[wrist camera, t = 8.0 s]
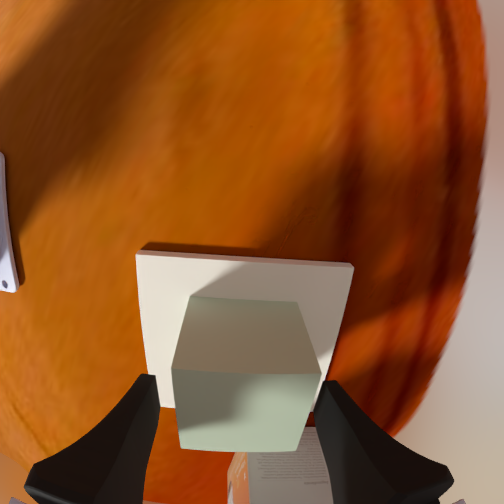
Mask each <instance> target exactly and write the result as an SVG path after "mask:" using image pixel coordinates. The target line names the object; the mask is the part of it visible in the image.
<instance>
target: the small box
mask: <svg viewBox="0 0 504 504" xmlns="http://www.w3.org/2000/svg"><path fill="white" fill-rule="evenodd" d="M228 504H333V497H332V490H331V483H330V477H329V473H328V468H327V465H326V462H325V458H324V455H323V452H322V448H321V445H320V442H319V438H318V435H317V431H316V427H304V430H303V433H302V435H301V438H300V441H299V444H298V446H297V449H296V451H285V452H235V455H234V457H233V460H232V462H231V464H230V467H229V469H228Z"/></svg>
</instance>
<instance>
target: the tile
mask: <svg viewBox="0 0 504 504" xmlns="http://www.w3.org/2000/svg"><path fill="white" fill-rule="evenodd" d="M136 267H137V282H138V294H139V305H140V315H141V324H142V332H143V340H144V347H145V355H146V361H147V368H148V374H150V375H156V381H157V388H158V394H159V400H160V406H161V407H169V408H175V402H174V393H173V384H172V375H171V366H172V362H173V358H174V354H175V350H176V346H177V342H178V338H179V334H180V330H181V326H182V323H183V319H184V315H185V311H186V308H187V304H188V300H189V297H190V296H196V297H211V298H226V299H243V300H263V301H286V302H297V303H298V306H299V309H300V312H301V314H302V317H303V320H304V323H305V326H306V329H307V331H308V334H309V337H310V340H311V343H312V346H313V349H314V351H315V354H316V357H317V360H318V363H319V366H320V369H321V372H322V375H321V378H320V382H319V385H318V388H317V391H316V394H315V397H314V401H313V404H312V407H311V410H310V412H313V409H314V406H315V403H316V400H317V397H318V394H319V391H320V388H321V385H322V382H323V381H324V380H325V377H326V374H327V370H328V367H329V364H330V361H331V357H332V354H333V350H334V347H335V343H336V340H337V336H338V333H339V329H340V325H341V321H342V317H343V314H344V310H345V306H346V302H347V297H348V293H349V289H350V285H351V280H352V276H353V271H354V267H353V266H352V265H351V263H343V262H326V261H309V260H292V259H276V258H259V257H243V256H227V255H211V254H196V253H180V252H165V251H150V250H139V251H138V252H137V254H136Z"/></svg>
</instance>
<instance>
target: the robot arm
mask: <svg viewBox="0 0 504 504" xmlns="http://www.w3.org/2000/svg"><path fill="white" fill-rule="evenodd" d="M6 282H7V283H6ZM18 289H19V281H18V276H17V272H16V266H15V261H14V256H13V250H12V243H11V237H10V229H9V221H8V211H7V200H6V184H5V158H4V155H3V154H2V153H1V152H0V290H2V291H7V292H12V293H15V292H16V291H17V290H18ZM159 413H160V400H159V394H158V388H157V381H156V375H150V374H141V375H140V376H139V377H138V378H137V380H136V381H135V383H134V384H133V385H132V387H131V388H130V389H129V390H128V392H127V393H126V394H125V395H124V397H123V398H122V399H121V400H120V401H119V403H118V404H117V405H116V406H115V407H114V408H113V409H112V410H111V411H110V412H109V413H108V415H107V416H106V417H105V418H104V419H103V420H102V421H101V422H100V423H98V424H97V425H96V426H95V427H94V428H93V429H92V430H90V431H89V432H88V433H87V434H85V435H84V436H83V437H82V438H80V439H79V440H78V441H76V442H75V443H73V444H72V445H70V446H68V447H67V448H65V449H63V450H62V451H60V452H58V453H57V454H55V455H53V456H51V457H48V458H46V459H44V460H42V461H40V462H37V463H35V464H34V465H33V467H32V469H31V470H30V473H29V475H28V477H27V480H26V482H25V485H24V488H25V491H26V492H27V493H28V494H29V495H30V496H31V497H32V498H33V499H34V500H35V501H36V502H37V503H39V504H142V502H143V491H144V482H145V474H146V469H147V464H148V460H149V456H150V452H151V449H152V445H153V441H154V437H155V434H156V430H157V426H158V420H159ZM313 413H314V420H315V426H316V431H317V435H318V438H319V442H320V445H321V448H322V452H323V455H324V458H325V462H326V465H327V468H328V473H329V477H330V483H331V490H332V497H333V504H440V502H439V499H438V498H439V497H440V496H441V495H443V494H444V493H445V492H446V491H447V490H448V489H449V488H450V487H451V486H452V485H453V483H454V479H453V477H452V475H451V473H450V471H449V469H448V467H447V466H446V465H443V464H440V463H438V462H435V461H432V460H430V459H428V458H426V457H423V456H421V455H419V454H417V453H415V452H414V451H412V450H410V449H409V448H407V447H405V446H404V445H402V444H401V443H399V442H398V441H396V440H395V439H393V438H392V437H391V436H390V435H388V434H387V433H386V432H384V431H383V430H382V429H381V428H380V427H378V426H377V425H376V424H375V423H374V422H373V421H372V420H371V419H370V418H369V417H368V416H367V415H366V414H365V413H364V412H363V411H362V410H361V409H360V408H359V407H358V405H357V404H356V403H355V402H354V401H353V400H352V399H351V398H350V396H349V395H348V394H347V393H346V392H345V390H344V389H343V388H342V387H341V386H340V385H339V383H338V382H337V381H336V380H332V381H323V382H322V385H321V388H320V391H319V394H318V397H317V400H316V403H315V406H314V409H313ZM9 504H26V503H24V502H22V501H19V500H18V499H16V498H14V497H11V500H10V502H9ZM453 504H466V503H465V501H464V499H461V500H459V501H457V502H455V503H453Z"/></svg>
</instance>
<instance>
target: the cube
mask: <svg viewBox="0 0 504 504" xmlns="http://www.w3.org/2000/svg"><path fill="white" fill-rule="evenodd" d="M171 375H172V384H173V393H174V402H175V410H176V417H177V425H178V432H179V438H180V445H181V448H184V449H195V450H207V451H225V452H285V451H296V449H297V446H298V444H299V441H300V438H301V435H302V433H303V430H304V427H305V424H306V421H307V418H308V415H309V413H310V410H311V407H312V404H313V401H314V397H315V394H316V391H317V388H318V385H319V382H320V378H321V375H322V372H321V369H320V366H319V363H318V360H317V357H316V354H315V351H314V349H313V346H312V343H311V340H310V337H309V334H308V331H307V329H306V326H305V323H304V320H303V317H302V314H301V312H300V309H299V306H298V303H297V302H286V301H263V300H243V299H226V298H211V297H196V296H190V297H189V300H188V304H187V308H186V311H185V315H184V319H183V323H182V326H181V330H180V334H179V338H178V342H177V346H176V350H175V354H174V358H173V362H172V366H171Z"/></svg>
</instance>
